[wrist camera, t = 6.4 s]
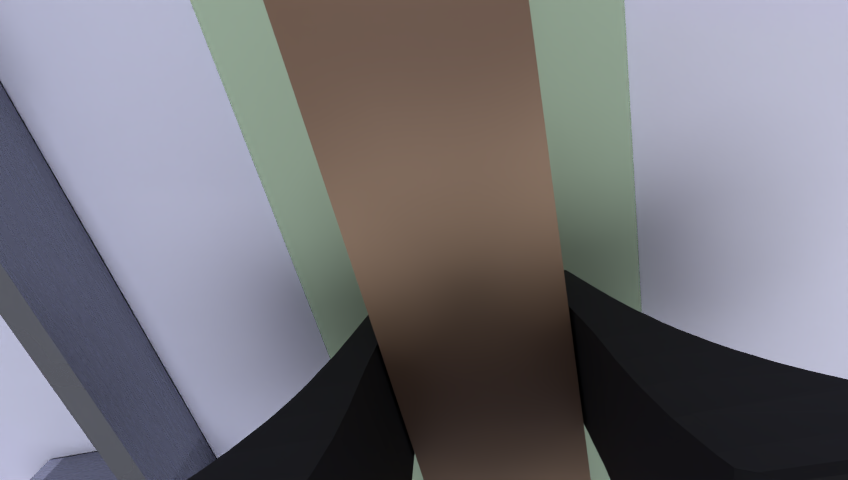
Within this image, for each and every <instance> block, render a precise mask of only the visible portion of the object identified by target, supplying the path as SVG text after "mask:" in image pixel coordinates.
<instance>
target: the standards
mask: <svg viewBox="0 0 848 480" xmlns="http://www.w3.org/2000/svg"><path fill="white" fill-rule="evenodd" d="M0 315H1V316H2V318H3V319H4V320H5V322H6V323H7V325H8V326H9V327H10V329H11V330H12V332H13V333H14V334H15V336H16V337H17V339H18V340H19V341H20V343H21V344H22V346H23V347H24V348H25V350H26V351H27V353H28V354H29V356H30V357H31V358H32V360H33V361H34V363H35V364H36V365H37V367H38V368H39V370H40V371H41V372H42V374H43V375H44V377H45V378H46V379H47V381H48V382H49V384H50V385H51V386H52V388H53V389H54V391H55V392H56V394H57V395H58V396H59V398H60V399H61V401H62V402H63V403H64V405H65V406H66V408H67V409H68V410H69V412H70V413H71V415H72V416H73V417H74V419H75V420H76V422H77V423H78V424H79V426H80V427H81V429H82V430H83V432H84V433H85V434H86V436H87V437H88V439H89V440H90V441H91V443H92V444H93V446H94V447H95V448H96V450H97V451H98V452H93V453H87V454H81V455H76V456H70V457H64V458H58V459H52V460H49V461H48V462H47V463H46V464H45V465H44V466H43V467H42V468H41V469H40V470H39V471H38V472H37V473H36V474H35V475H34V476H33V477H32V478H31V479H30V480H187V479H188V478H190V477H191V476H193V475H194V474H196V473H197V472H199V471H200V470H202V469H203V468H205V467H206V466H208V465H209V464H211V463H212V462H213V461H215V460H216V458H215V456H214V454H213V452H212V451H211V449H210V447H209V445H208V444H207V442H206V440H205V438H204V437H203V435H202V433H201V432H200V430H199V428H198V426H197V425H196V423H195V421H194V419H193V418H192V416H191V414H190V412H189V411H188V409H187V407H186V405H185V404H184V402H183V400H182V398H181V397H180V395H179V393H178V392H177V390H176V388H175V386H174V385H173V383H172V381H171V379H170V378H169V376H168V374H167V372H166V371H165V369H164V367H163V365H162V364H161V362H160V360H159V358H158V357H157V355H156V353H155V352H154V350H153V348H152V346H151V345H150V343H149V341H148V339H147V338H146V336H145V334H144V332H143V331H142V329H141V327H140V325H139V324H138V322H137V320H136V318H135V317H134V315H133V313H132V312H131V310H130V308H129V306H128V305H127V303H126V301H125V299H124V298H123V296H122V294H121V292H120V291H119V289H118V287H117V285H116V284H115V282H114V280H113V278H112V277H111V275H110V273H109V272H108V270H107V268H106V266H105V265H104V263H103V261H102V259H101V258H100V256H99V254H98V252H97V251H96V249H95V247H94V245H93V244H92V242H91V240H90V238H89V237H88V235H87V233H86V232H85V230H84V228H83V226H82V225H81V223H80V221H79V219H78V218H77V216H76V214H75V212H74V211H73V209H72V207H71V205H70V204H69V202H68V200H67V198H66V197H65V195H64V193H63V192H62V190H61V188H60V186H59V185H58V183H57V181H56V179H55V178H54V176H53V174H52V172H51V171H50V169H49V167H48V165H47V164H46V162H45V160H44V158H43V157H42V155H41V153H40V152H39V150H38V148H37V146H36V145H35V143H34V141H33V139H32V138H31V136H30V134H29V132H28V131H27V129H26V127H25V125H24V124H23V122H22V120H21V118H20V117H19V115H18V113H17V112H16V110H15V108H14V106H13V105H12V103H11V101H10V99H9V98H8V96H7V94H6V92H5V91H4V89H3V87H2V85H1V84H0Z"/></svg>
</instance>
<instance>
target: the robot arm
mask: <svg viewBox="0 0 848 480" xmlns="http://www.w3.org/2000/svg"><path fill="white" fill-rule="evenodd" d="M564 276H565V284H566V292H567V299H568V307H569V315H570V322H571V330H572V338H573V346H574V353H575V361H576V369H577V377H578V384H579V392H580V400H581V408H582V415H583V423H584V425H585V427H586V429H587V431H588V433H589V435H590V437H591V440H592V442H593V444H594V446H595V448H596V450H597V452H598V454H599V456H600V458H601V460H602V462H603V464H604V466H605V468H606V471H607V473H608V475H609V477H610V480H848V380H847V379H843V378H838V377H834V376H830V375H825V374H821V373H817V372H812V371H808V370H804V369H800V368H796V367H792V366H789V365H785V364H781V363H777V362H774V361H770V360H767V359H764V358H760V357H757V356H754V355H750V354H747V353H744V352H740V351H737V350H734V349H731V348H728V347H725V346H722V345H719V344H716V343H713V342H710V341H708V340H705V339H702V338H700V337H697V336H694V335H692V334H689V333H687V332H684V331H681V330H679V329H676V328H674V327H672V326H669V325H667V324H665V323H662V322H660V321H658V320H656V319H654V318H652V317H650V316H648V315H646V314H643V313H641V312H639V311H637V310H635V309H633V308H631V307H629V306H627V305H625V304H624V303H622V302H620V301H618V300H616V299H614V298H613V297H611V296H609V295H607V294H606V293H604V292H602V291H600V290H599V289H597V288H595V287H594V286H592V285H590V284H589V283H587V282H585V281H584V280H582V279H580V278H579V277H577V276H575V275H574V274H572V273H570V272H569V271H567V270H564ZM414 455H415V452H414V450H413V447H412V444H411V441H410V438H409V435H408V432H407V429H406V426H405V423H404V420H403V417H402V414H401V411H400V408H399V405H398V402H397V399H396V396H395V393H394V390H393V387H392V384H391V381H390V378H389V375H388V372H387V369H386V366H385V363H384V360H383V357H382V354H381V351H380V348H379V345H378V342H377V339H376V336H375V333H374V330H373V327H372V324H371V321H370V318H369V315H367V317H366V318H365V319H364V320H363V321H362V323H361V324H360V325H359V326H358V328H357V329H356V330H355V331H354V333H353V334H352V335H351V336H350V337H349V338H348V340H347V341H346V342H345V343H344V344H343V346H342V347H341V348H340V349H339V350H338V352H337V353H336V354H335V355H334V356H333V357H332V358H331V359H330V360H329V362H328V363H327V364H326V365H325V366H324V367H323V368H322V369H321V370H320V371H319V372H318V373H317V374H316V375H315V377H314V378H313V379H312V380H311V381H310V382H309V383H308V384H307V385H306V386H305V387H304V388H303V389H302V390H301V391H300V392H299V393H298V394H297V395H296V396H295V397H294V398H292V399H291V400H290V401H289V402H288V403H287V404H286V405H285V406H284V407H282V408H281V409H280V410H279V411H278V412H277V413H276V414H275V415H273V416H272V417H271V418H270V419H269V420H267V421H266V422H265V423H264V424H262V425H261V426H260V427H259V428H257V429H256V430H255V431H253V432H252V433H251V434H250V435H248V436H247V437H246V438H244V439H243V440H242V441H241V442H239V443H238V444H237V445H235V446H234V447H233V448H232V449H230V450H229V451H228V452H226V453H225V454H223V455H222V456H221V457H219V458H218V459H216V460H215V461H213V462H212V463H211V464H209V465H208V466H206V467H205V468H203V469H202V470H200V471H199V472H197V473H196V474H194V475H193V476H191V477H190V478H188V479H187V480H412V475H413V465H414Z"/></svg>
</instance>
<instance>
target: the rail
mask: <svg viewBox="0 0 848 480" xmlns="http://www.w3.org/2000/svg"><path fill="white" fill-rule="evenodd" d="M263 2H264V5H265V8H266V11H267V14H268V17H269V20H270V23H271V26H272V29H273V32H274V35H275V38H276V41H277V44H278V47H279V50H280V53H281V55H282V58H283V61H284V64H285V67H286V70H287V73H288V76H289V79H290V82H291V85H292V88H293V91H294V94H295V97H296V100H297V103H298V106H299V109H300V112H301V115H302V118H303V121H304V124H305V127H306V130H307V133H308V136H309V139H310V142H311V145H312V148H313V151H314V154H315V157H316V160H317V163H318V166H319V169H320V172H321V175H322V178H323V181H324V184H325V187H326V190H327V193H328V196H329V199H330V202H331V205H332V208H333V211H334V214H335V217H336V220H337V223H338V226H339V229H340V232H341V235H342V238H343V241H344V244H345V247H346V250H347V253H348V255H349V258H350V261H351V264H352V267H353V270H354V273H355V276H356V279H357V282H358V285H359V288H360V291H361V294H362V297H363V300H364V303H365V306H366V309H367V312H368V315H369V318H370V321H371V324H372V327H373V330H374V333H375V336H376V339H377V342H378V345H379V348H380V351H381V354H382V357H383V360H384V363H385V366H386V369H387V372H388V375H389V378H390V381H391V384H392V387H393V390H394V393H395V396H396V399H397V402H398V405H399V408H400V411H401V414H402V417H403V420H404V423H405V426H406V429H407V432H408V435H409V438H410V441H411V444H412V447H413V450H414V452H415V455H416V458H417V461H418V464H419V467H420V470H421V473H422V476H423V479H424V480H591V477H590V469H589V462H588V454H587V446H586V439H585V431H584V423H583V415H582V408H581V400H580V392H579V384H578V377H577V369H576V361H575V353H574V346H573V338H572V330H571V322H570V315H569V307H568V299H567V292H566V284H565V276H564V268H563V261H562V253H561V245H560V237H559V230H558V222H557V214H556V206H555V199H554V191H553V183H552V175H551V168H550V160H549V152H548V145H547V137H546V129H545V121H544V114H543V106H542V98H541V90H540V83H539V75H538V67H537V59H536V52H535V44H534V36H533V29H532V21H531V13H530V5H529V0H263Z"/></svg>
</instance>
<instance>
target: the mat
mask: <svg viewBox="0 0 848 480" xmlns="http://www.w3.org/2000/svg"><path fill="white" fill-rule="evenodd" d="M190 1H191V4H192V6H193V9H194V12H195V14H196V17H197V19H198V22H199V24H200V27H201V29H202V32H203V35H204V37H205V40H206V42H207V45H208V47H209V50H210V52H211V55H212V58H213V60H214V63H215V65H216V68H217V70H218V73H219V75H220V78H221V81H222V83H223V86H224V88H225V91H226V93H227V96H228V98H229V101H230V104H231V106H232V109H233V111H234V114H235V116H236V119H237V121H238V124H239V127H240V129H241V132H242V134H243V137H244V139H245V142H246V144H247V147H248V150H249V152H250V155H251V157H252V160H253V162H254V165H255V167H256V170H257V173H258V175H259V178H260V180H261V183H262V185H263V188H264V190H265V193H266V196H267V198H268V201H269V203H270V206H271V208H272V211H273V213H274V216H275V219H276V221H277V224H278V226H279V229H280V231H281V234H282V236H283V239H284V242H285V244H286V247H287V249H288V252H289V254H290V257H291V259H292V262H293V265H294V267H295V270H296V272H297V275H298V277H299V280H300V282H301V285H302V288H303V290H304V293H305V295H306V298H307V300H308V303H309V305H310V308H311V311H312V313H313V316H314V318H315V321H316V323H317V326H318V328H319V331H320V334H321V336H322V339H323V341H324V344H325V346H326V349H327V351H328V354H329V357H330V359H331V358H332V357H333V356H334V355H335V354H336V353H337V352H338V350H339V349H340V348H341V347H342V346H343V344H344V343H345V342H346V341H347V340H348V338H349V337H350V336H351V335H352V334H353V333H354V331H355V330H356V329H357V328H358V326H359V325H360V324H361V323H362V321H363V320H364V319H365V318H366V317H367V315H368V312H367V309H366V306H365V303H364V300H363V297H362V294H361V291H360V288H359V285H358V282H357V279H356V276H355V273H354V270H353V267H352V264H351V261H350V258H349V255H348V253H347V250H346V247H345V244H344V241H343V238H342V235H341V232H340V229H339V226H338V223H337V220H336V217H335V214H334V211H333V208H332V205H331V202H330V199H329V196H328V193H327V190H326V187H325V184H324V181H323V178H322V175H321V172H320V169H319V166H318V163H317V160H316V157H315V154H314V151H313V148H312V145H311V142H310V139H309V136H308V133H307V130H306V127H305V124H304V121H303V118H302V115H301V112H300V109H299V106H298V103H297V100H296V97H295V94H294V91H293V88H292V85H291V82H290V79H289V76H288V73H287V70H286V67H285V64H284V61H283V58H282V55H281V53H280V50H279V47H278V44H277V41H276V38H275V35H274V32H273V29H272V26H271V23H270V20H269V17H268V14H267V11H266V8H265V5H264V2H263V0H190ZM529 5H530V13H531V21H532V29H533V36H534V44H535V52H536V59H537V67H538V75H539V83H540V90H541V98H542V106H543V114H544V121H545V129H546V137H547V145H548V152H549V160H550V168H551V175H552V183H553V191H554V199H555V206H556V214H557V222H558V230H559V237H560V245H561V253H562V261H563V268H564V270H567V271H569V272H570V273H572V274H574V275H575V276H577V277H579V278H580V279H582V280H584V281H585V282H587V283H589V284H590V285H592V286H594V287H595V288H597V289H599V290H600V291H602V292H604V293H606V294H607V295H609V296H611V297H613V298H614V299H616V300H618V301H620V302H622V303H624V304H625V305H627V306H629V307H631V308H633V309H635V310H637V311H639V312H641V294H640V276H639V258H638V240H637V222H636V204H635V186H634V168H633V150H632V132H631V114H630V96H629V78H628V60H627V42H626V24H625V6H624V0H529ZM641 313H642V312H641ZM584 431H585V439H586V446H587V454H588V462H589V469H590V477H591V480H610V477H609V475H608V473H607V471H606V468H605V466H604V464H603V462H602V460H601V458H600V456H599V454H598V452H597V450H596V448H595V446H594V444H593V442H592V440H591V437H590V435H589V433H588V431H587V429H586V427H585V425H584ZM412 480H424V479H423V476H422V473H421V470H420V467H419V464H418V461H417V458H416V455H414V465H413V475H412Z"/></svg>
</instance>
